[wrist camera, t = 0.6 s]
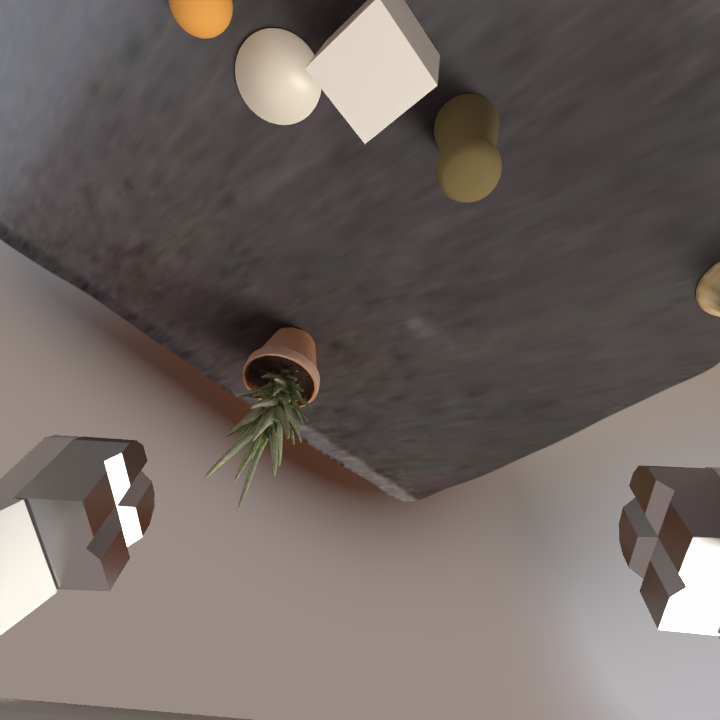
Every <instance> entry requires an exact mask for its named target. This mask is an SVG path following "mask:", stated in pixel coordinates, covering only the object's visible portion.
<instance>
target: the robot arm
mask: <svg viewBox="0 0 720 720" xmlns="http://www.w3.org/2000/svg"><path fill="white" fill-rule="evenodd" d="M146 463H147V457H146V454H145V450H144V447H143V445H142V444H141V443H139V442H138V441H137V440H136V441H135V440H122V439H108V438H95V437H94V438H93V437H77V436H59V435H53V436H49V437H45V438H44V439H43V440H42V441H41V442H40V443H39V444H38V445H37V446H35V448H33V449H32V450H31V451H30V452H29V453H28V454H27V455H26V456H25V457H24V458H23V459H22V460H20V461H19V462H18V463H17V464H16V465H15V466H14V467H13V468H12V469H11V470H10V471H9V472H8V473H7V474H5V475H4V476H3V477H2V478H1V479H0V635H1V634H3V633H4V632H5V631H7V630H8V629H9V628H11V627H12V626H13V625H15V624H16V623H17V622H18V621H20V620H21V619H22V618H24V617H25V616H26V615H28V614H29V613H30V612H32V611H33V610H34V609H35V608H37V607H38V606H39V605H41V604H42V603H43V602H45V601H46V600H47V599H49V598H50V597H51V596H52V595H54V594H55V593H56V592H57V589H69V590H70V589H71V590H95V591H110V590H111V588H112V587H113V585H114V583H115V582H116V580H117V578H118V577H119V575H120V573H121V572H122V570H123V568H124V567H125V565H126V564H127V561H128V560H129V559H130V556H129V552H128V549H127V547H128V546H129V545H131V544H132V543H134V542H135V541H137V540H138V539H140V538H141V537H143V535H144V533H145V531H146V530H147V528H148V526H149V524H150V522H151V518H152V514H153V510H154V497H155V496H154V495H155V493H154V489H153V484H152V481H151V480H150V479H149V478H148V477H147V476H146V475H145V474H144V473H143V472H142V471H141V470H142V469H143V467H144V466H145V464H146ZM629 486H630V488H631V490H632V492H633V494H634V495H635V498H634V499H633V500H632V501H630V502H629V503H628V504H627V505H625V506H624V507H623V509H622V513H621V517H620V522H619V541H620V545H621V549H622V553H623V556H624V558H625V560H626V562H627V565H628V567H629V568H630V569H632V570H633V571H634V572H635V573H637V574H638V575H639V576H640V577H642V578H643V582H642V586H641V589H640V593H641V595H642V597H643V599H644V601H645V603H646V605H647V607H648V609H649V612H650V614H651V616H652V618H653V620H654V622H655V624H656V626H657V628H658V630H669V631H678V632H689V633H700V634H709V635H719V636H720V468H712V467H711V468H710V467H709V468H708V467H706V468H684V467H683V468H682V467H661V466H638V467H637V469H636V470H635V471H634V473H633V475H632V478H631V482H630V485H629ZM719 638H720V637H719ZM0 720H250V719H239V718H227V717H217V716H205V715H194V714H182V713H171V712H159V711H148V710H136V709H123V708H113V707H101V706H89V705H78V704H67V703H54V702H43V701H32V700H20V699H8V698H0Z"/></svg>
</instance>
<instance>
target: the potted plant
mask: <svg viewBox="0 0 720 720" xmlns="http://www.w3.org/2000/svg"><path fill="white" fill-rule="evenodd" d="M243 381H244V383H245V385H246V387H247V389H248V390H249V391H246V392H242V393H239V394H237V395H236V397H243V396H246V397H252V398H258V399H259V400H260V401H258V402H256V403H255V404H253V405H252V406H251V407H250V409H254V408H255V409H254V410H253V411H252V412H251V413H249V414H248V415H247V416H246V417H244V419H242V420H241V422H240V423H239V424H237V425H236V426H235V427H234V428H233V429H232V430H231V431H230V432H229V433H228V434H227V435H226V436H225V438H226V437H228V436H230V435H231V434H234V433H236V432H238V431H240V430H242V429H243V431H242V432H241V434H240V435H239V437H238V438H237V440H239V439H240V438H241V437H242V436H243V435H244V434H245V433H246V432H247V431H248V430H249V429H250V427H253V428H252V429H251V430H250V431H249V432H248V433H247V434H245V435H244V436H243V437H242V438H241V439H240V440H239V441H238V442H237V443H235V444H234V445H233V446H232V447H231V448H230V449H229V450H228V451H227V452H226V453H225V454H224V455H223V456H222V457H221V458H220V459H219V460H218V461H217V462H216V464H215V465H214V466H213V467H212V468H211V469H210V470H209V472H208V473H207V475H206V477H205V479H206V478H207V477H209V476H210V475H211V474H212V473H213V472H214V471H215V470H216V469H218V468H219V467H220V466H221V465H222V464H224V463H225V462H226V461H227V460H228V459H229V458H231V457H232V456H233V455H234V454H235V453H237V452H238V451H239V450H240V449H241V448H242V447H243V446H244V445H246V444H247V443H249V442H250V441H251V440H252V441H251V443H250V445H249V447H248V449H247V451H246V453H245V455H244V458H243V460H242V462H241V465H240V467H239V469H238V471H237V474H236V477H235V481H236V480H237V478H238V477H239V475H240V473H241V472H242V470H243V469H244V467H245V465H246V463H247V462H248V461H249V459H250V458H251V456H252V458H251V460H252V462H251V466H250V468H249V471H248V475H247V478H246V481H245V484H244V488H243V491H242V495H241V498H240V501H239V505H238V510H239V508H240V506H241V504H242V502H243V500H244V497H245V495H246V492H247V490H248V488H249V485H250V482H251V479H252V476H253V474H254V471H255V469H256V466H257V462H258V460H259V457H260V455H261V453H262V451H263V449H264V447H265V445H266V443H267V441H268V439H269V441H270V449H271V460H272V472H273V476H274V477H275V474H276V469H277V461H278V466H280V464H281V457H282V435H283V428H284V431H285V434H286V437H287V439H288V438H289V437H290V433H291V437H292V441H293V444H294V434H293V432H294V433H295V435H296V436H297V438H298V440H299V441H300V443H301V436H300V433H299V429H298V426H297V424H296V421H295V419H294V416H293V413H292V410H293V412H294V413H295V414H296V416H297V417H298V418H299V420H300V422H301V423H303V421H302V418H303V419H304V420H305V422H308V421H307V419H306V417H305V415H304V414H303V413H302V411H301V410H300V408H299V407H303V406H307V407H308V408H310V409H311V410H313V408H312V407H311V406H310V404H309V403H310V402H312V401H313V400H314V398H315V397H316V395H317V393H318V388H319V384H320V376H319V372H318V371H317V367H316V350H315V343H314V341H313V339H312V337H311V336H310V335H309V334H308V333H307V332H305V331H304V330H301V329H298V328H294V327H288V328H281V329H279V330H278V331H277V332H276V333H275V334H274V335H273V336H272V337H271V338H270V339H269V340H268V341H267V342H266V344H265V345H264V346H263V347H262V348H260V349H258V350H256V351H255V352H253V353H252V354H251V355H250V356H249V358H248V360H247V362H246V364H245V366H244V368H243ZM291 409H292V410H291ZM300 415H301V416H302V418H301V416H300ZM237 440H236V441H237ZM238 510H237V511H238Z"/></svg>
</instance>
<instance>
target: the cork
mask: <svg viewBox="0 0 720 720" xmlns="http://www.w3.org/2000/svg"><path fill="white" fill-rule="evenodd" d="M499 127H500V121H499V114H498V112H497V110H496V108H495V107H494V105H493V104H492V103H491V102H490V101H489V100H488V99H487V98H485V97H483V96H480V95H478V94H462V95H459V96H456V97H454V98H452V99H451V100H449V101H448V102H446V103H445V104H444V106H443V107H442V108H441V109H440V111H439V112H438V114H437V117H436V119H435V122H434V136H435V141H436V144H437V148H438V151H439V157H438V159H437V163H436V173H435V174H436V178H437V183H438V185H439V186H440V188H441V189H442V191H443V193H444V194H446V195H447V196H448V197H449V198H451V199H453V200H456V201H458V202H468V203H469V202H474V201H478V200H480V199H482V198H484V197H486V196H487V195H488V194H489V193H490V192H491V191H492V190H493V189H494V188H495V186H496V184H497V183H498V181H499V179H500V176H501V170H502V163H501V157H500V153H499V152H498V150H497V148H496V144H497V138H498V133H499Z"/></svg>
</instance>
